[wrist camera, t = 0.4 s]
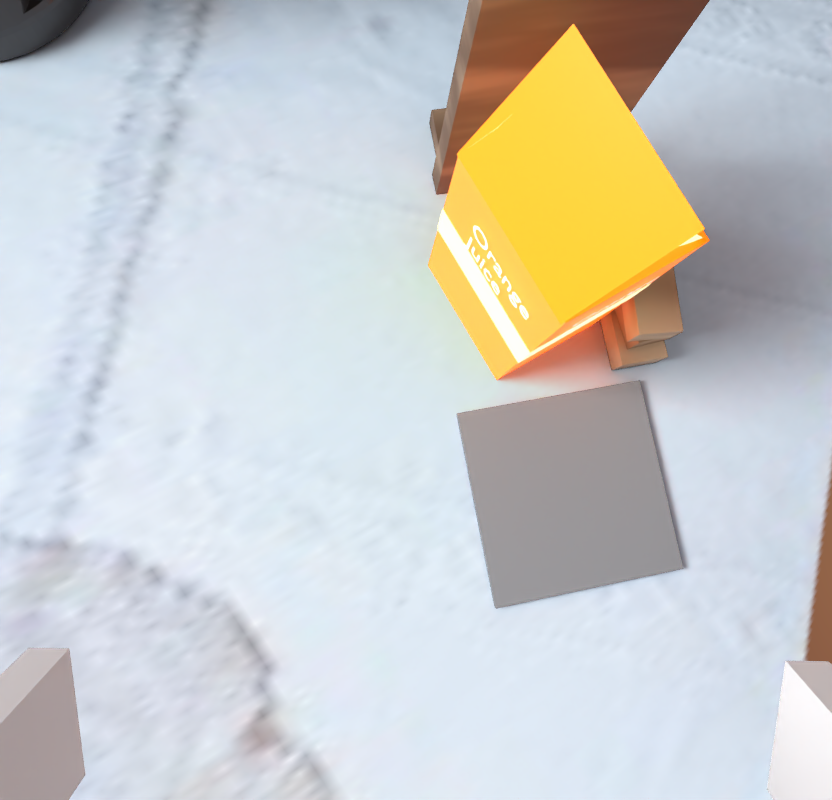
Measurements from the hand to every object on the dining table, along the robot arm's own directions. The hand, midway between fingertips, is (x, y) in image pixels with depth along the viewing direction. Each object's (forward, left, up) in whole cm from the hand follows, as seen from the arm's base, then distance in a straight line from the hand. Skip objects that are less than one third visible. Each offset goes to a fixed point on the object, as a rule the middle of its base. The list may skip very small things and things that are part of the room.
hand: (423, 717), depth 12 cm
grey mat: (-2, +12, -28) cm, 30 cm away
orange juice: (-15, +11, -28) cm, 33 cm away
